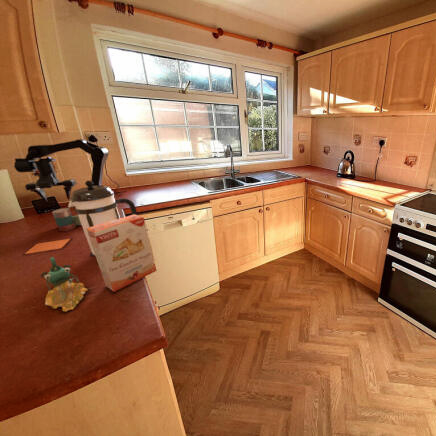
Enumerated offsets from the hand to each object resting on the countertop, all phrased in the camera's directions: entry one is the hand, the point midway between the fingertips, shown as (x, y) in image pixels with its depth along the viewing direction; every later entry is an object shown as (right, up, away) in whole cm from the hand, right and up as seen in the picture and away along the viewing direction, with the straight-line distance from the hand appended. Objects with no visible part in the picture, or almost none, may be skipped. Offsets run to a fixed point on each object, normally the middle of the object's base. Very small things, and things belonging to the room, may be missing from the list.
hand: (57, 200), depth 128 cm
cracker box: (+70, -30, -46) cm, 89 cm away
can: (+10, -15, -5) cm, 19 cm away
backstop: (+9, -13, -1) cm, 16 cm away
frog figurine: (+55, -33, -54) cm, 84 cm away
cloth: (+18, -22, -23) cm, 36 cm away
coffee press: (+51, -23, -28) cm, 63 cm away
